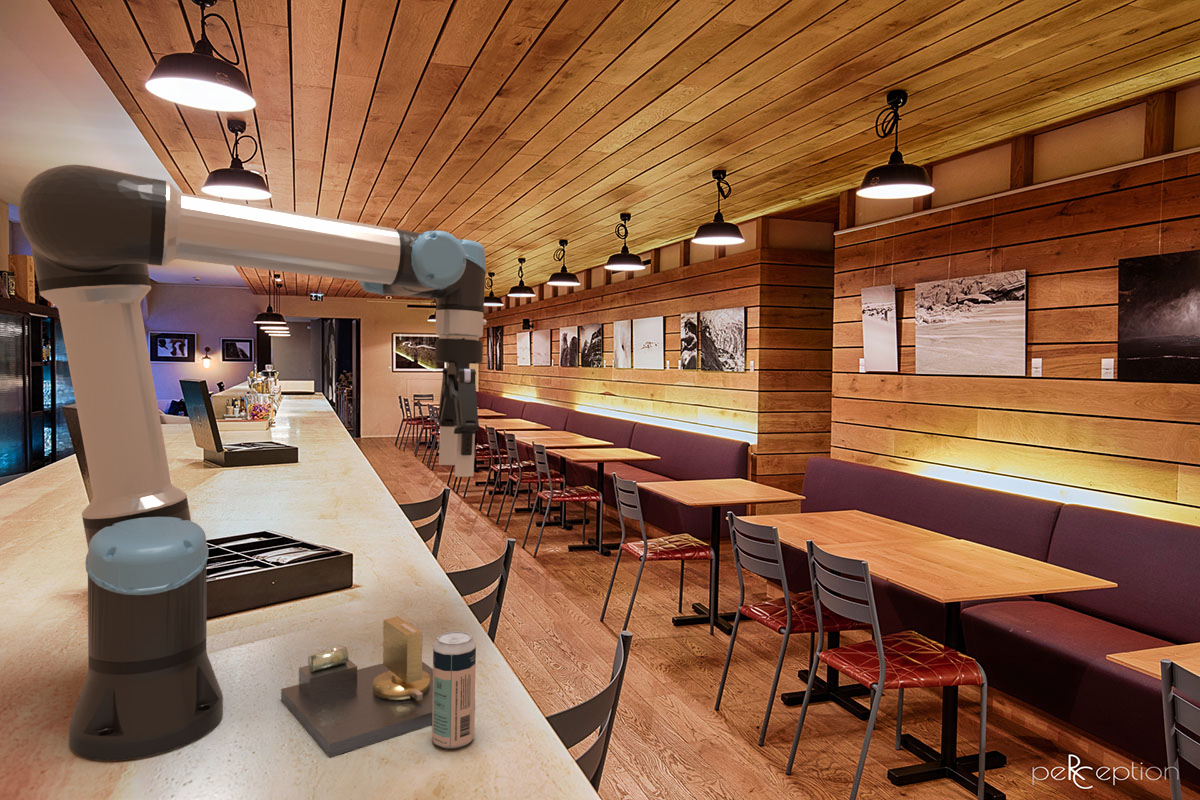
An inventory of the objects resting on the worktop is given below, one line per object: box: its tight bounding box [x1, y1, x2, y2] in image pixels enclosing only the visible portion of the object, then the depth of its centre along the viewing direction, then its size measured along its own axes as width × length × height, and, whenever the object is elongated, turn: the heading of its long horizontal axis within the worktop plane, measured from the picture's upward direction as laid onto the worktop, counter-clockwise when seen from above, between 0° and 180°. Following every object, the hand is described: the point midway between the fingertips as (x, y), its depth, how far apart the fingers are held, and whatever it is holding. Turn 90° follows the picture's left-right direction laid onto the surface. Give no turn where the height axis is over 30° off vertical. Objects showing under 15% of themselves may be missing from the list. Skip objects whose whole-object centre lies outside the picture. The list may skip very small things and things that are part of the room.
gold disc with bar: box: [373, 616, 430, 701], centre depth 92 cm, size 7×9×8 cm
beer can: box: [431, 631, 477, 750], centre depth 83 cm, size 5×5×12 cm
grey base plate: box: [280, 646, 433, 758], centre depth 92 cm, size 18×17×6 cm
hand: (455, 470), depth 118 cm, fingers open, 13 cm apart
